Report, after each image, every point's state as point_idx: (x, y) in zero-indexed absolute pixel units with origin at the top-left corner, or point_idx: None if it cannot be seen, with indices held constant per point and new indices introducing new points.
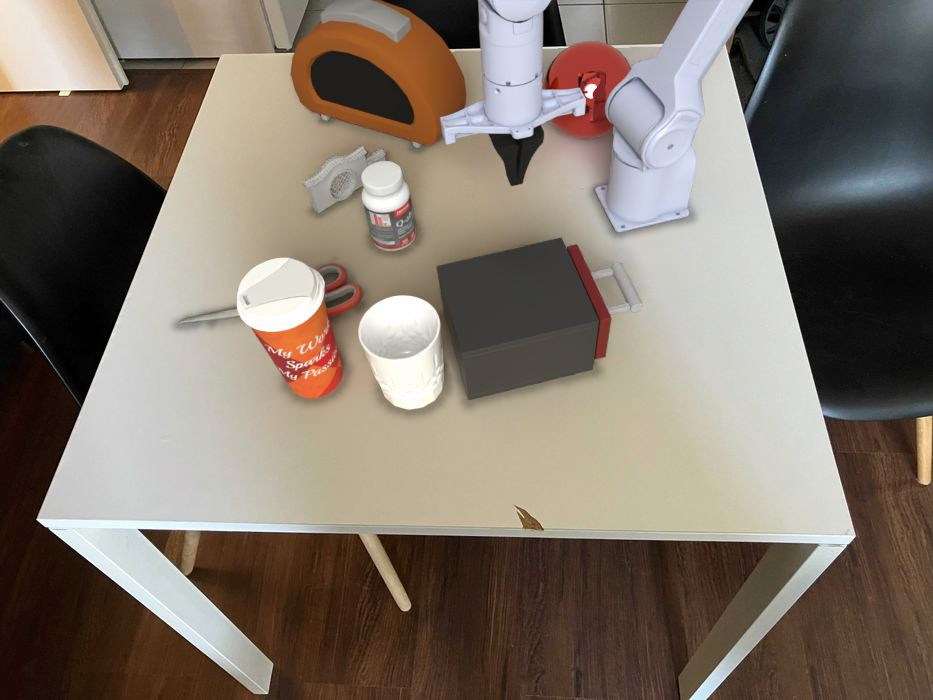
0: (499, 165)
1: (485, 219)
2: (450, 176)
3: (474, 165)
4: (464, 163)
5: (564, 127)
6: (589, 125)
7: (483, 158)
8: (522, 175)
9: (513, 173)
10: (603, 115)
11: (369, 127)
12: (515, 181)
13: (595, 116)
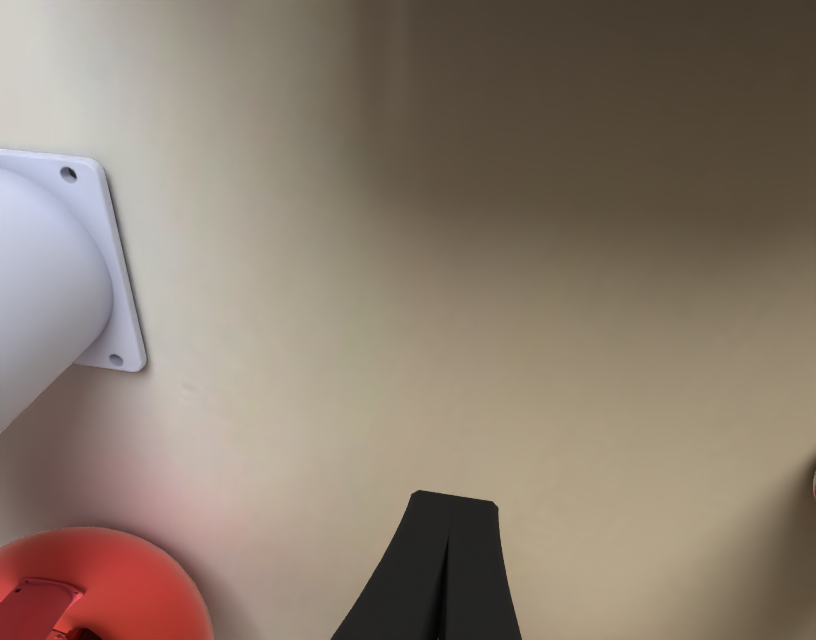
0: None
1: (547, 405)
2: (573, 583)
3: None
4: None
5: (171, 601)
6: (81, 583)
7: None
8: (408, 553)
9: (477, 602)
10: (12, 603)
11: None
12: (465, 525)
13: (39, 610)
